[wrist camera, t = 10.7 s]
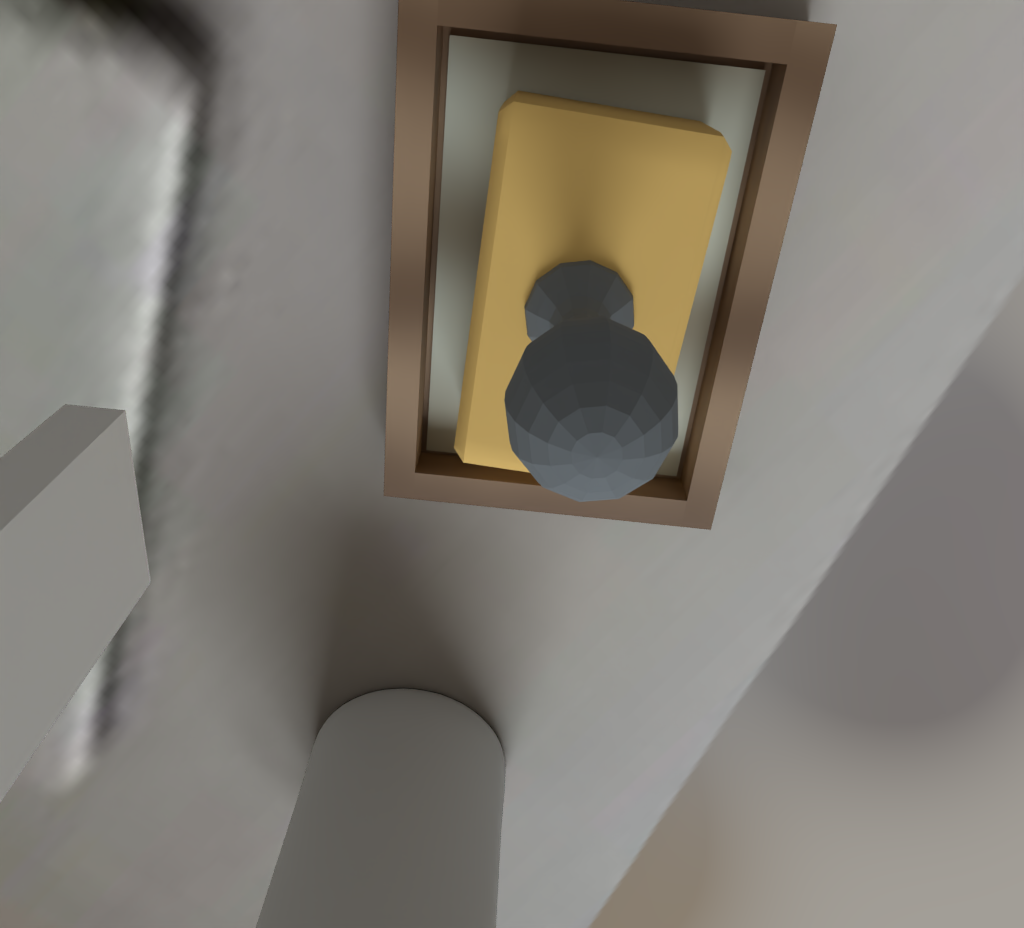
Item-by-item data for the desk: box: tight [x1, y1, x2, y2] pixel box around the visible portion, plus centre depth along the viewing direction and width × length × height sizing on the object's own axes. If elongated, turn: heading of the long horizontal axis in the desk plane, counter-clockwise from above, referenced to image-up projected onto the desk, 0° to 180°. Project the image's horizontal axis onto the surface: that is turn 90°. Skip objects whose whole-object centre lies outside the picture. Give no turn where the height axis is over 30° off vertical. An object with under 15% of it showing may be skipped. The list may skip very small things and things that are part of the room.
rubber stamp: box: [454, 91, 732, 502], centre depth 20 cm, size 10×6×12 cm, turn 171°
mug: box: [256, 688, 505, 928], centre depth 32 cm, size 12×8×11 cm
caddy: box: [384, 0, 837, 530], centre depth 25 cm, size 15×11×2 cm
